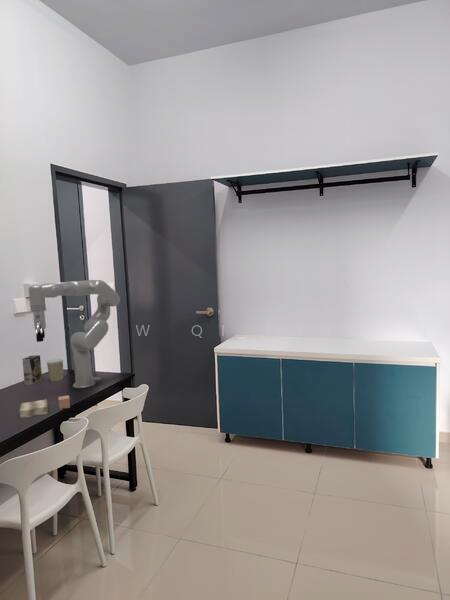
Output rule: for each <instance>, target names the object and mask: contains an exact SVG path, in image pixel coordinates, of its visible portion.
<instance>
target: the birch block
mask: <svg viewBox="0 0 450 600" xmlns="http://www.w3.org/2000/svg"><path fill="white" fill-rule="evenodd" d="M48 405H49V404H48V399H47V398H45V399H40V400H35V401H28V402H21V403H20V408H19V419H20V418H21V419H25V418H26V417H27V418H33V417H36V416H37V415H38V416H43V414H44V415H48V414H49V413H48V411H49V409H48ZM32 416H33V417H32ZM38 416H37V417H38ZM27 418H26V419H27Z"/></svg>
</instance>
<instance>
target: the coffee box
mask: <svg viewBox="0 0 450 600" xmlns="http://www.w3.org/2000/svg"><path fill="white" fill-rule="evenodd" d="M21 360H22V370H23V372H22V373H23V381H24V385H25V386H35V385H37V384H39V383H41V382H43V374H42V363H41V355H40V354H39V355H29V356H27V357H24V358H22V359H21Z"/></svg>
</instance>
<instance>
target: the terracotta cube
mask: <svg viewBox="0 0 450 600" xmlns="http://www.w3.org/2000/svg"><path fill="white" fill-rule="evenodd" d="M57 399H58V407H59V410H63V409H62V408H65V409H71V403H70V395H62V396H58V398H57Z"/></svg>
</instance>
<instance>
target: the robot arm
mask: <svg viewBox="0 0 450 600" xmlns="http://www.w3.org/2000/svg"><path fill="white" fill-rule="evenodd" d="M89 295H97V297H96V301H97V302H96V303H97V308H96V311H95V312H94V313H93V314H92V315H91V317H89V319H88V320H87V321H86V322H85V324H84V325H83V328H84V331H85V332H83V331H77V332H75V333H73V334H72V335H71V337H70V342H69V343H70V345H71V350H72V357H73V367H74V368H73V369H74V378H75V382H74V383H73V384H72V388H75V389H86V387H87V388H90V386H91V387H93V386H95V385H96V384H97V382H98V381H101V380H102V379H101V376H94V375H93V368H92V358H91V357H92V356H91V355H92V354H91V350H93V349H95V348H97V345H99V343H100V342H101V341H102V340H103V339H104V337H105V336H106V335H107V333H108V331H109V324H108V322H107V321H108V319H109V318H110V316H111V307H117V306H118V305H119V304H120V302H121V297H120V295H119V293H118V292H117V291H116V290H115V289H114V288H112V287H111V286H110V285H109V284H108V283H107V282H105V281H104V280H101V279H98V280H97V279H88V280H75V281H62V282H48V283H43V284H35V285H34V284H33V285H30V286H28V297H29V305H30V306H29V307H30V312H31V313H32V314H33V323H34V330H35V332H36V333H35V337H36V342H37V343H41V342H44V339H45V338H46V336H45V334H46V333H45V330H46V328H47V324H46V316H45V314H46V313H45V311H46V310H47V309H46V308H47V306H46V298H53V299H54V298H57V297H62V296H63V297H64V296H65V297H66V296H67V297H77V296H78V297H79V296H80V297H81V296H89Z"/></svg>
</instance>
